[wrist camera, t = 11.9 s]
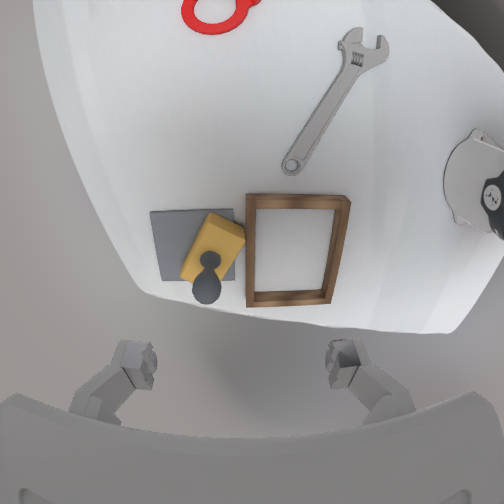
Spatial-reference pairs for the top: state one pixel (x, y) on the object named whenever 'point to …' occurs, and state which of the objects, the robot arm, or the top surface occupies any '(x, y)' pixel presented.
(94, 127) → the top surface
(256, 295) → the wooden frame
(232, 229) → the rubber stamp
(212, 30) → the tow hook
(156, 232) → the slate mat
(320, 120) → the adjustable wrench
